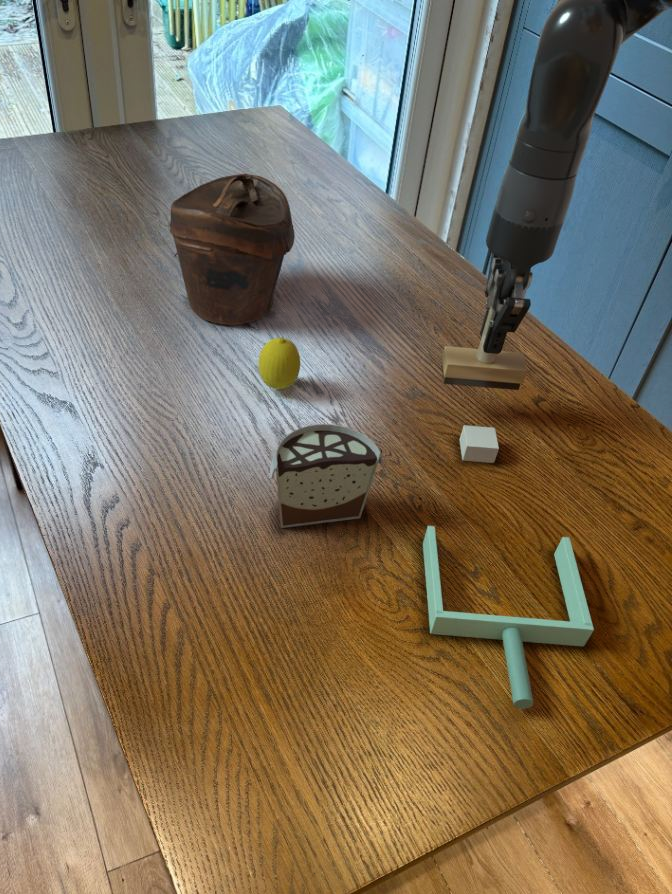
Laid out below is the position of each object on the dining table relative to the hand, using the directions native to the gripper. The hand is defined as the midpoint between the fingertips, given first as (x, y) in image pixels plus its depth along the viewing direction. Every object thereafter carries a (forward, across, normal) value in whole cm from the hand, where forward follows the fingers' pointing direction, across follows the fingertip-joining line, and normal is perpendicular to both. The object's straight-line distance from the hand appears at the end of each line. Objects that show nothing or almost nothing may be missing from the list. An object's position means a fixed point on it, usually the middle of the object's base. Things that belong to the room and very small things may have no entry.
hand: (489, 344), depth 93 cm
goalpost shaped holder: (+11, -35, 0) cm, 36 cm away
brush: (+5, 0, 0) cm, 5 cm away
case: (+11, +22, +35) cm, 43 cm away
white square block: (+11, -8, 0) cm, 13 cm away
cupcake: (+11, -20, +20) cm, 30 cm away
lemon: (+11, +2, +26) cm, 28 cm away
